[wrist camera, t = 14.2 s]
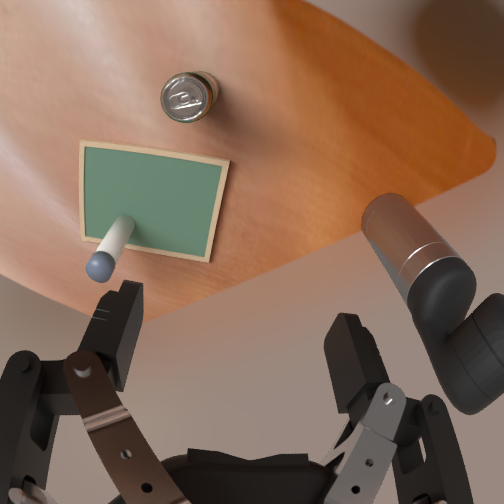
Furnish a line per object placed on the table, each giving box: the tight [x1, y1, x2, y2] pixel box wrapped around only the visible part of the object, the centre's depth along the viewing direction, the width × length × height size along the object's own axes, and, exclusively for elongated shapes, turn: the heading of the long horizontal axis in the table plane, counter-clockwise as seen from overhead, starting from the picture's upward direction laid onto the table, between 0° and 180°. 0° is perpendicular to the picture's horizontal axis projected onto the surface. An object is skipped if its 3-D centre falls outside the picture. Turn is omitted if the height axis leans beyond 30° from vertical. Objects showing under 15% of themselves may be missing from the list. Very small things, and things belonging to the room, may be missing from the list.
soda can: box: [161, 71, 219, 123], centre depth 30 cm, size 5×5×12 cm
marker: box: [86, 214, 135, 283], centre depth 39 cm, size 3×3×12 cm
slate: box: [79, 139, 230, 263], centre depth 43 cm, size 22×17×1 cm
